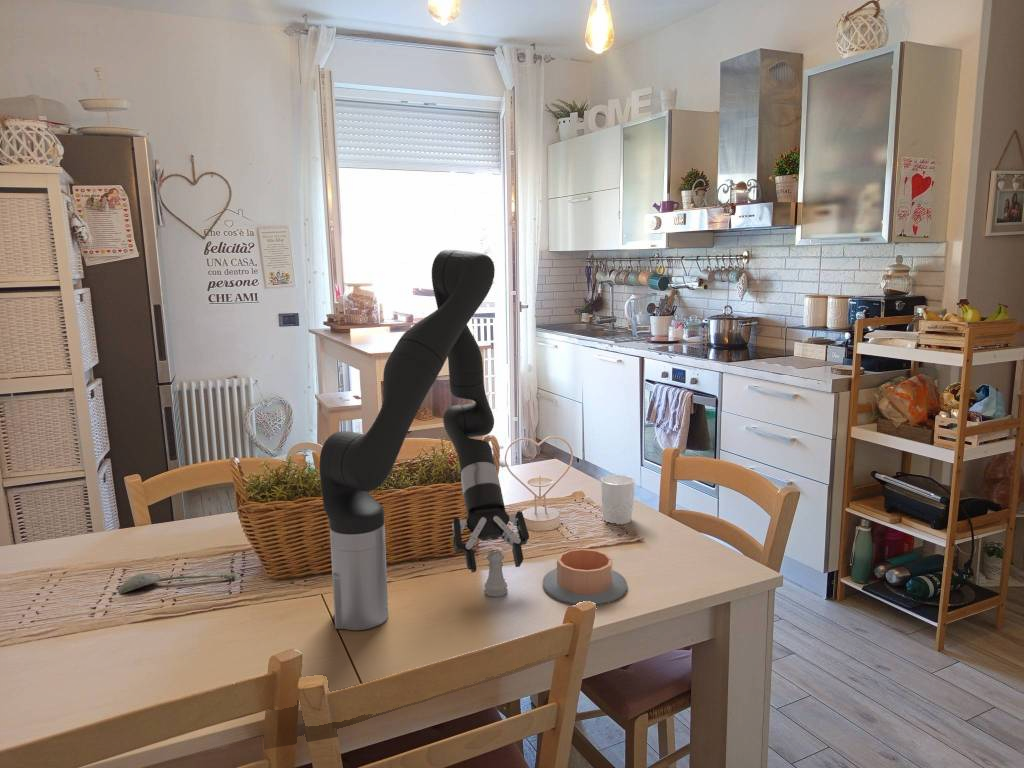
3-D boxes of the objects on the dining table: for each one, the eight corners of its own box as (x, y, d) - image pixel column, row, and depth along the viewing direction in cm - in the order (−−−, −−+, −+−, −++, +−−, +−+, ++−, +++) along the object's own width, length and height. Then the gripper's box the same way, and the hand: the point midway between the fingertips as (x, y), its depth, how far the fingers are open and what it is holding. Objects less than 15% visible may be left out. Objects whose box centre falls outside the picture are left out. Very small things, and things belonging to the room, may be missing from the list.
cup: (558, 610, 129) (558, 582, 128) (532, 573, 145) (532, 548, 144) (640, 599, 133) (641, 571, 132) (607, 564, 149) (607, 539, 148)
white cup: (633, 526, 169) (634, 485, 167) (599, 524, 171) (599, 483, 169) (634, 515, 177) (635, 475, 175) (601, 513, 178) (602, 473, 176)
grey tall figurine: (499, 600, 134) (498, 559, 132) (479, 594, 136) (478, 554, 134) (512, 590, 137) (511, 550, 136) (492, 585, 140) (492, 546, 138)
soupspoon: (125, 585, 143) (112, 602, 137) (122, 570, 143) (109, 586, 136) (240, 573, 147) (234, 589, 140) (238, 558, 146) (231, 573, 140)
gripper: (448, 484, 139) (461, 565, 130) (520, 478, 143) (537, 555, 134) (444, 502, 145) (456, 580, 136) (513, 495, 149) (529, 571, 140)
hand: (496, 568), depth 135 cm, fingers open, 8 cm apart
